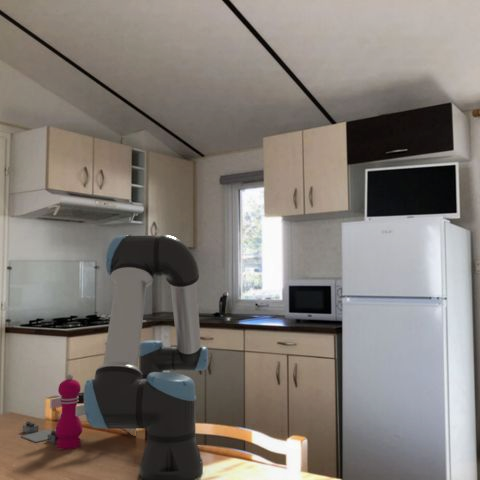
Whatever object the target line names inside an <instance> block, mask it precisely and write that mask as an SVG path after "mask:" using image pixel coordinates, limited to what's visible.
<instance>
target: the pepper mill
mask: <svg viewBox="0 0 480 480" xmlns="http://www.w3.org/2000/svg"><path fill="white" fill-rule="evenodd" d="M65 378H66V379H65V380H62V381H61V382H60V384H59V385H58V389H57V390H58V392H57V393H58V394H59V396H60V397H61V398H60V403H62V407H61V413H60V417H59V419H58V421H57V423H56V426H55V430H56V432H55V433H56V435H57V437H58V438H59V440H58V441H57V443H56V448H58V449H59V450H72V449H73V450H74V449H76V448H78V447H80V446H81V438H80V436H81V434H82V433H83V425H82V422H81V420H80V419H81V418H80V416H76V406H78V403H77V402H78V401H79V400H78V398H79V397H78V396H77V395H78V394H79V393H81V390H82V389H81V384H80V382H79V381H78V380H76V379H74V375H73V374H71V373H68V374H67V375H66V377H65Z"/></svg>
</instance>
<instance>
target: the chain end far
mask: <svg viewBox="0 0 480 480" xmlns="http://www.w3.org/2000/svg"><path fill="white" fill-rule="evenodd" d="M39 427H40V426H39V425H38V424H36V422H32V421H26V423H25V424H22V432H23V433H25V434H26V435H27V434H32V433H36V432H39Z"/></svg>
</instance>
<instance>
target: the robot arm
mask: <svg viewBox="0 0 480 480" xmlns="http://www.w3.org/2000/svg"><path fill="white" fill-rule="evenodd" d="M105 259H106V261H105V267H106V268H105V269H106V272H107V274H108V275H109V276H110V280H111V281H112V282H113V283H114V284H115V285H114V290H113V298H112V303H111V309H110V310H111V311H110V316H109V324H108V331H107V335H106V336H107V337H106V344H105V350H104V357H103V363H102V365H100V366H99V367H97V368H96V370H95V373H94V375H95V376H94V378H93V377H92V378H89V379H87V380H86V382H85V384H84V388H83V392H79V394H78V395H77V396H78V397H79V398H78V400H79V401H78V402H77V406H76V416H78V417H81V416H85V418H86V420H87V423H88V424H89V425H90V426H91V427H92V428H94V429H105V430H107V431H108V430H111V429H113V430H117V429H118V430H119V429H122V430H123V429H124V430H125V429H130V430H131V429H134V430H135V429H137V430H139V429H141V430H142V429H143V430H144V429H145V430H146V432H147V433H146V437H147V438H146V443H145V447H144V451H143V455H142V458H141V461H140V463H139V477H140V478H141V479H142V480H194V479H197V478H198V477H200V476H201V475H202V474H203V473H204V471H203V470H204V463H203V458H202V457H201V453H200V452H201V451H200V449H199V446H198V443H197V438H196V435H197V434H196V400H197V396H196V385H195V382H194V380H193V378H191V377H189V376H188V375H185V374H180V373H177V372H170V371H178V372H179V371H185V372H187V371H189V372H190V371H192V372H197V371H206V370H207V369H208V366H209V349H208V347H207V346H202V343H201V342H202V341H201V329H200V316H199V305H198V292H197V291H198V289H197V283H198V281H199V279H200V272H199V270H200V269H199V265H198V262H197V260H196V258H195V256H194V254H193V252H192V250H191V249H190V248H189V247H188V246H187V245H186V244H185V243H184V242H183V241H181V240H180V239H179V238H177V237H175V236H172V235H169V234H161V235H159V234H158V235H157V234H155V235H154V234H153V235H152V234H151V235H132V234H127V235H117V236H116V237H114V238H113V239H112V240H111V241H110V242H109V245H108V248H107V251H106V258H105ZM161 276H165V279H166V283H167V284H168V285H169V286H170V291H171V292H170V293H171V294H170V295H171V301H172V312H173V321H174V331H175V339H176V340H175V341H176V346H164V342H163V341H162V340H156V339H151V340H149V339H148V340H144V341H142V342H141V339H142V328H143V321H144V312H145V303H146V297H147V296H146V295H147V288H148V287H149V286H151V285H152V284H153V282H154V277H161ZM138 363H139V365H138ZM138 366H139V367H138ZM60 398H61V396H60V397H59V396H58V397H54V398H53V397H52V398H50V403H49V404H50V407H49V408H50V409H51V410H52V409H56V408H62V403H60Z"/></svg>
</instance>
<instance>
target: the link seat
mask: <svg viewBox="0 0 480 480" xmlns="http://www.w3.org/2000/svg"><path fill="white" fill-rule="evenodd" d="M52 430H53V429H46V430H43V431H42V430H41V431H38V432H36V433H32V434H27V433H26V434H23V435H21V436H20V437H21V438H22V439H25V440H27V441H30V442H33V443H36V444H37V443H40V442H41V443H42V442H45V441H48V434H50V433H51V431H52Z"/></svg>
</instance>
